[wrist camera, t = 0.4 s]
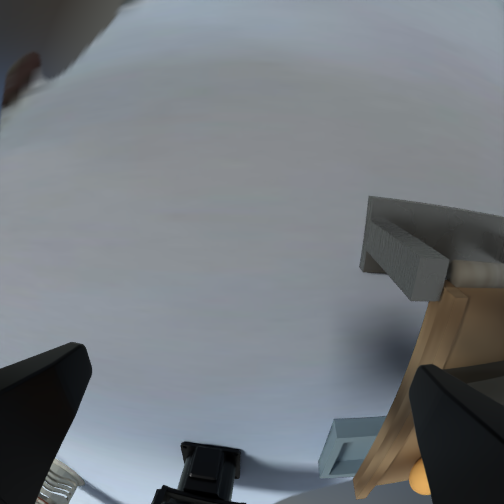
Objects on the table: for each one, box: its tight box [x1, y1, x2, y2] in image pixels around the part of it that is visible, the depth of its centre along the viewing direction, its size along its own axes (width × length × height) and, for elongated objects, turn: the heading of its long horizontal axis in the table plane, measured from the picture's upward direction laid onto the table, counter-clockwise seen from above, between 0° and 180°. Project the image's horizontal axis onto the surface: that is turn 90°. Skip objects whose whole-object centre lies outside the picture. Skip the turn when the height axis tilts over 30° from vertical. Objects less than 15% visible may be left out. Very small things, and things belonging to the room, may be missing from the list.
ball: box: [409, 458, 431, 495], centre depth 14 cm, size 4×4×4 cm
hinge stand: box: [360, 196, 504, 301], centre depth 15 cm, size 5×14×8 cm, turn 87°
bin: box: [318, 416, 387, 479], centre depth 25 cm, size 8×12×2 cm, turn 87°
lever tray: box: [353, 260, 504, 499], centre depth 14 cm, size 19×10×3 cm, turn 177°
